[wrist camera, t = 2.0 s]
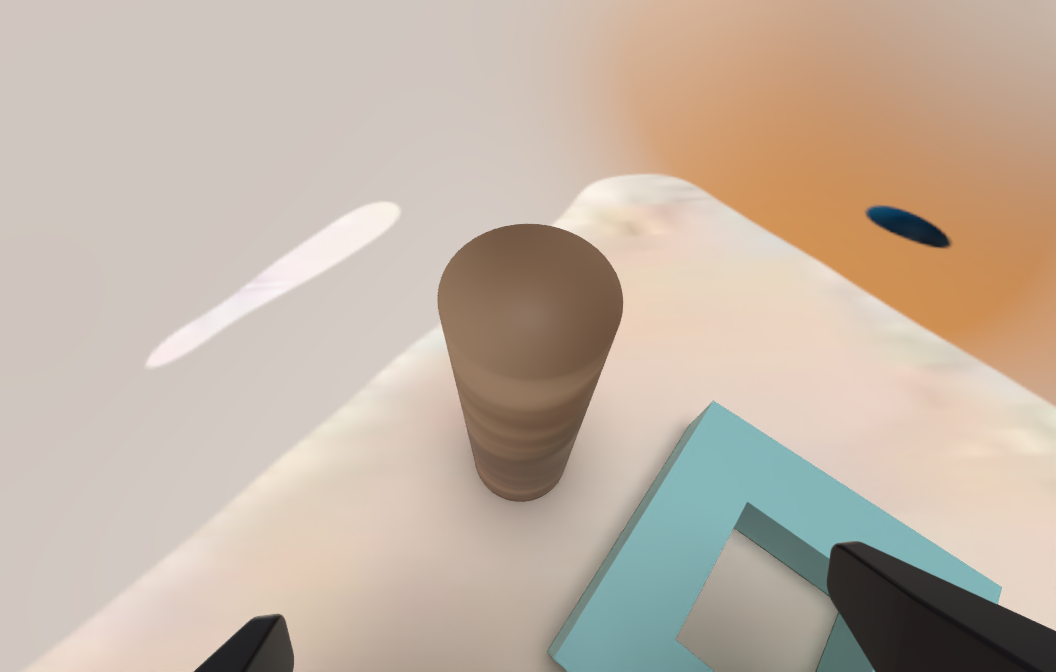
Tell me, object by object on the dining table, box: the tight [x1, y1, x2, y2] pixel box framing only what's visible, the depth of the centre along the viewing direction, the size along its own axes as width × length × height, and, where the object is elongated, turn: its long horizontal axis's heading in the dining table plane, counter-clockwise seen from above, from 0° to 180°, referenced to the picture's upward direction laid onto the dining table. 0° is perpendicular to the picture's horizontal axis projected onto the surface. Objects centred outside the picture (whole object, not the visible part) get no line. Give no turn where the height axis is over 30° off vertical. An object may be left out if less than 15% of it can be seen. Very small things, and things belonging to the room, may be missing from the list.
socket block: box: [547, 401, 1002, 672], centre depth 17 cm, size 11×11×3 cm
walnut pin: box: [438, 224, 623, 501], centre depth 16 cm, size 4×4×12 cm
